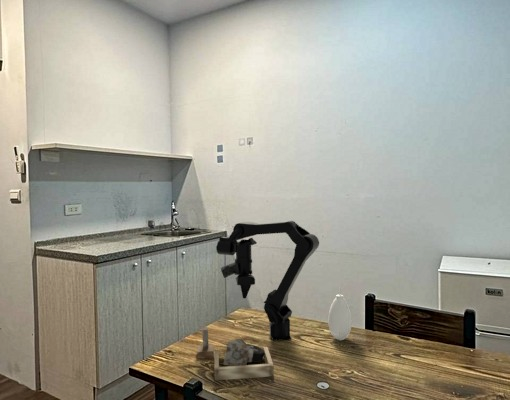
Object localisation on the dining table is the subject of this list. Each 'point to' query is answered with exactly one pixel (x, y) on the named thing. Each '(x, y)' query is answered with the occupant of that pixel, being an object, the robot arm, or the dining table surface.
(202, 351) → the stand rod
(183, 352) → the dining table surface
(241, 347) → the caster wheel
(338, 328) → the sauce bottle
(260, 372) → the cradle
